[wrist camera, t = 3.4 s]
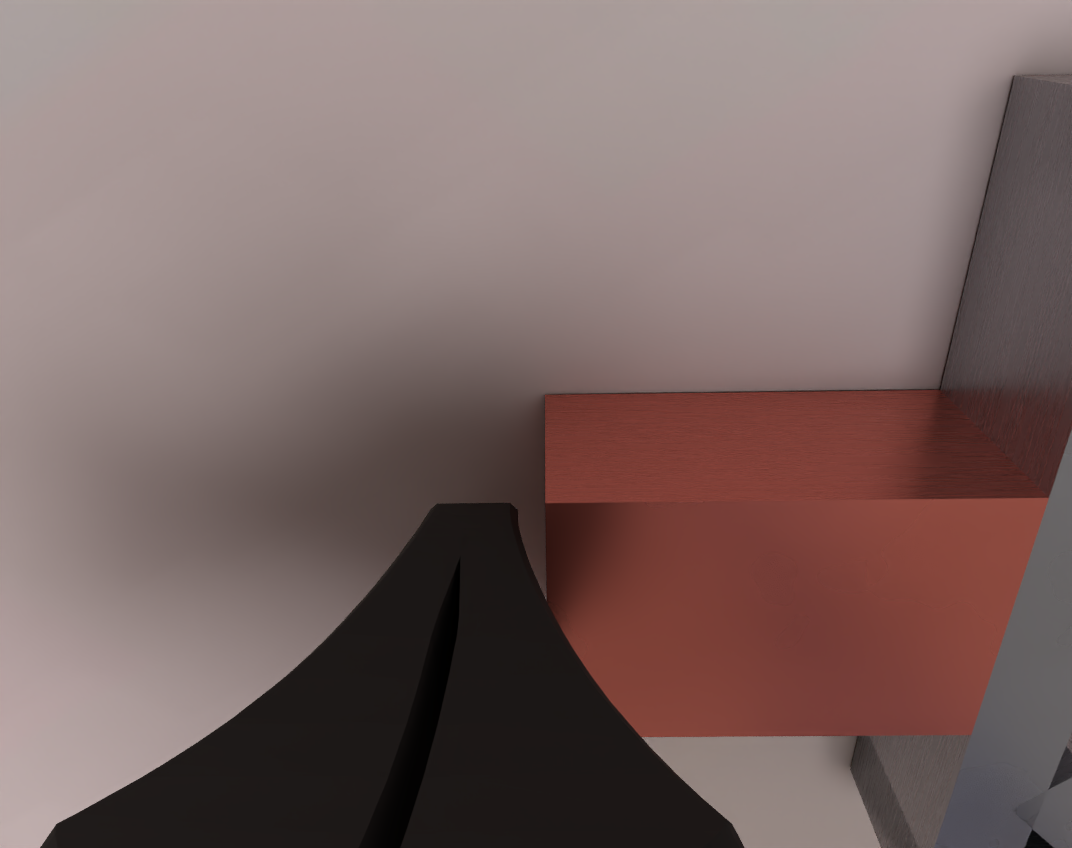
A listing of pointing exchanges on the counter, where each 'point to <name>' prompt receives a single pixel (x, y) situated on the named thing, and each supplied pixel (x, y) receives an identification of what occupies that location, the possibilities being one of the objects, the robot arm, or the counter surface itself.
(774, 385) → the counter surface
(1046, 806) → the clamp
